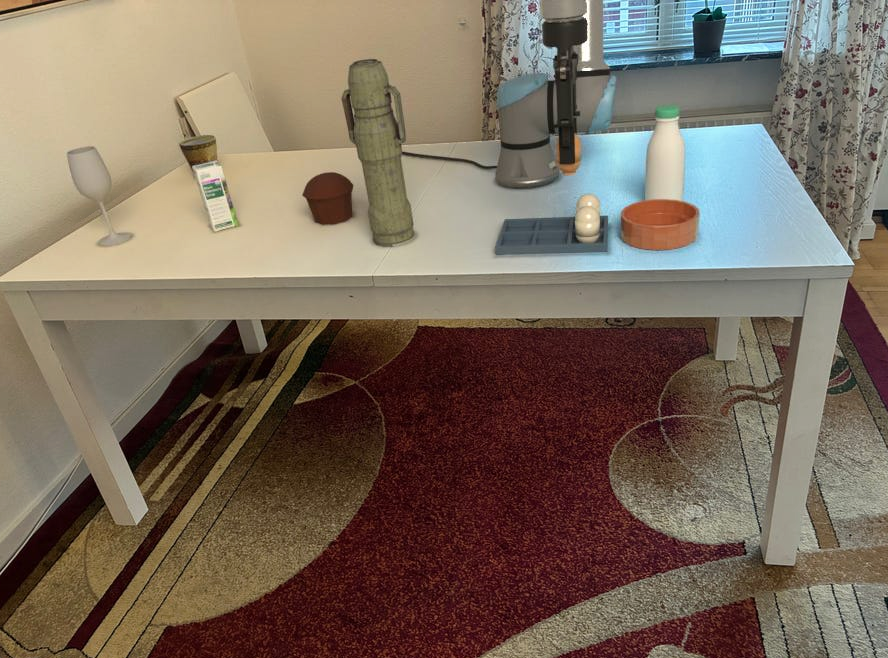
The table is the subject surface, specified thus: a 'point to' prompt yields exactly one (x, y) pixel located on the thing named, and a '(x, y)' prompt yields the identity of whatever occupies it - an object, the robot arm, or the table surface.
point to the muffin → (329, 198)
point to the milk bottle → (665, 157)
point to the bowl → (659, 224)
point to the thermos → (379, 149)
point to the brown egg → (571, 168)
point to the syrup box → (215, 195)
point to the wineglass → (93, 184)
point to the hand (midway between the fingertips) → (568, 158)
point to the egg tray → (547, 237)
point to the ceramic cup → (199, 149)
